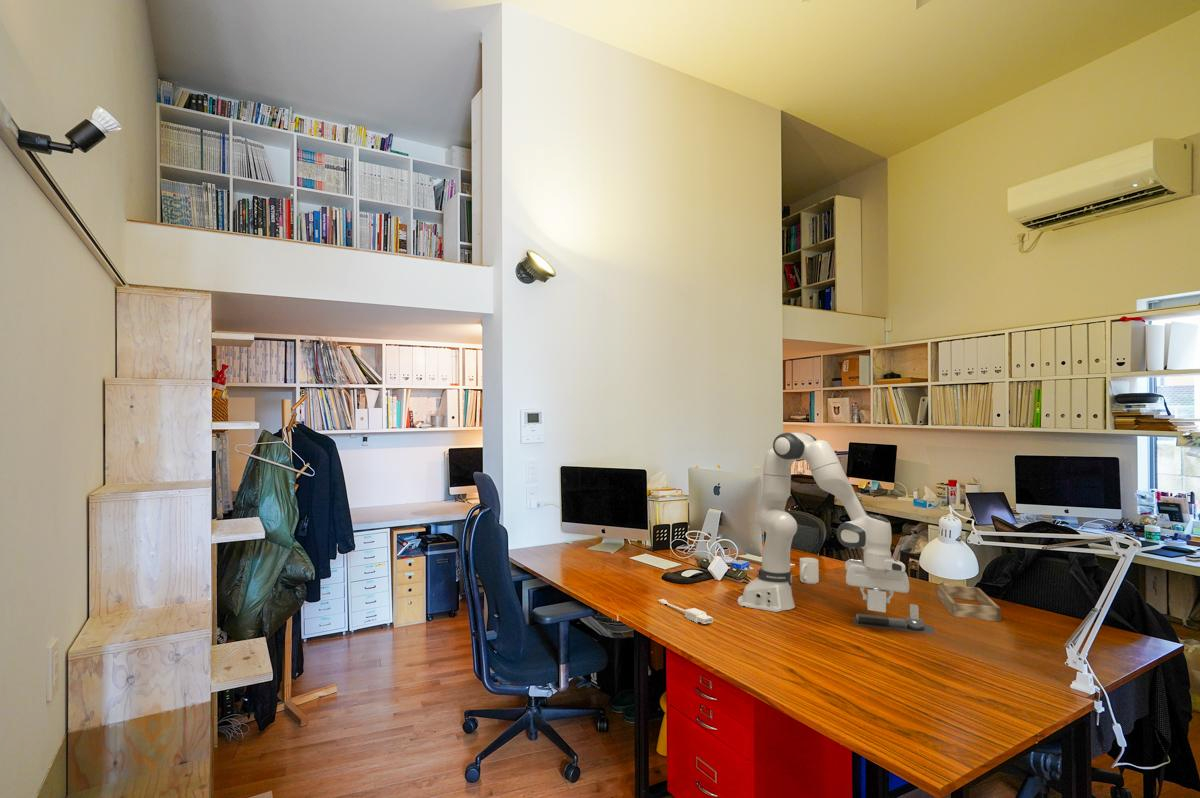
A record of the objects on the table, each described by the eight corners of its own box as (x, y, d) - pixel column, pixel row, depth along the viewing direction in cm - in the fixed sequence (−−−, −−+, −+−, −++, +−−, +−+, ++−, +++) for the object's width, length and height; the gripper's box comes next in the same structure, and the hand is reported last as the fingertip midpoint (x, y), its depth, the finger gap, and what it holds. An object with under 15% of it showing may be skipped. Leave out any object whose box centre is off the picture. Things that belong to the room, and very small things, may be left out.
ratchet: (857, 624, 207) (857, 602, 208) (856, 619, 213) (855, 597, 213) (925, 631, 200) (925, 608, 200) (922, 626, 206) (921, 603, 206)
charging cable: (664, 603, 237) (663, 595, 237) (713, 624, 209) (713, 614, 209) (653, 605, 235) (653, 597, 235) (703, 626, 206) (702, 617, 207)
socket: (867, 609, 199) (868, 587, 199) (866, 605, 204) (867, 584, 204) (885, 612, 197) (886, 590, 197) (884, 608, 202) (884, 586, 202)
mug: (810, 586, 258) (809, 563, 258) (793, 583, 264) (792, 560, 264) (821, 581, 266) (821, 559, 267) (805, 578, 272) (804, 556, 272)
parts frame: (953, 616, 217) (953, 603, 217) (937, 596, 244) (936, 584, 244) (1001, 621, 212) (1000, 607, 212) (979, 599, 238) (978, 587, 238)
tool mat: (854, 626, 207) (854, 625, 207) (852, 618, 215) (852, 617, 215) (936, 635, 198) (936, 633, 198) (930, 626, 206) (930, 625, 206)
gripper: (845, 559, 202) (844, 599, 201) (910, 567, 194) (909, 608, 194) (845, 556, 208) (844, 594, 207) (908, 563, 200) (907, 603, 200)
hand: (876, 601), depth 200 cm, fingers closed on socket, 6 cm apart
